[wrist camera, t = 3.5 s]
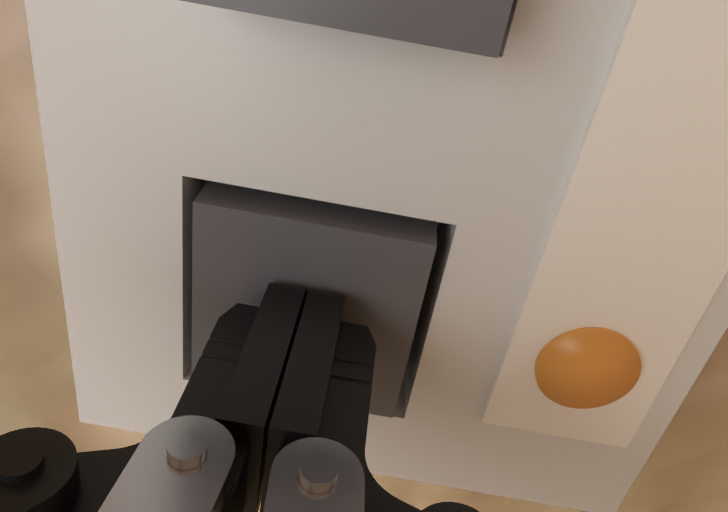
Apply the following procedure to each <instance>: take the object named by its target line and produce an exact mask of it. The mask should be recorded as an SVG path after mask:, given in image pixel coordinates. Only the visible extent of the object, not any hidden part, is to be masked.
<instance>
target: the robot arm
mask: <svg viewBox="0 0 728 512" xmlns="http://www.w3.org/2000/svg"><path fill="white" fill-rule="evenodd" d="M306 293H307V289H304V288H299V287H293V286H287V285H282V284H276V283H271V282H270V283H269V284H268V286H267V289H266V291H265V294H264V296H263V299H262V302H261V304H260V307H257V306H252V305H246V304H241V303H237V304H236V305H234V306H233V307H232V308H230V309H229V310H228V311H227V312H225V313H224V314H223V315H222V316H220V317H219V318H218V321H217V323H216V325H215V327H214V329H213V331H212V333H211V335H210V339H209V340H208V341H207V344H206V346H205V348H204V350H203V352H202V356H200V358H199V360H198V362H197V365H196V367H195V369H194V371H193V373H192V375H191V377H190V379H189V381H188V383H187V385H186V388H185V390H184V392H183V394H182V396H181V398H180V400H179V402H178V404H177V406H176V408H175V411H174V413H173V415H172V416H171V418H170V419H169V420H166V421H164V422H162V423H160V424H158V425H157V426H155V427H154V428H153V429H151V430H150V431H149V432H148V433H147V434H146V435H145V437H144V438H143V439H142V441H141V442H140V443H137V444H135V445H132V446H128V447H124V448H118V449H110V450H100V451H90V452H79V453H77V451H76V448H75V446H74V444H73V442H72V441H71V440H70V439H69V438H68V437H67V436H66V435H64V434H63V433H61V432H58V431H56V430H53V429H48V428H40V427H35V428H24V429H18V430H15V431H11V432H8V433H6V434H3V435H1V436H0V512H258V510H259V506H260V502H261V507H260V512H479V511H478V510H476V509H474V508H472V507H469V506H467V505H464V504H460V503H454V502H441V503H436V504H433V505H430V506H428V507H427V508H425V509H423V510H422V511H421V510H419V509H417V508H415V507H413V506H411V505H409V504H407V503H405V502H403V501H401V500H399V499H397V498H396V497H394V496H392V495H391V494H389V493H388V492H387V491H385V490H384V489H383V488H382V487H381V486H380V485H379V484H378V483H377V482H376V480H375V479H374V478H373V476H372V474H371V473H370V471H369V469H368V466H367V463H366V458H365V445H366V436H367V427H368V418H369V409H370V400H371V391H372V381H373V372H374V363H375V354H376V344H375V341H374V339H373V337H372V335H371V332H370V330H369V328H368V326H364V325H358V324H353V323H347V322H342V321H341V320H342V314H343V308H344V303H345V296H344V295H338V294H333V293H327V292H322V291H316V290H310V289H309V291H308V294H307V298H306Z"/></svg>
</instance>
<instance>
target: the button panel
mask: <svg viewBox="0 0 728 512" xmlns="http://www.w3.org/2000/svg"><path fill="white" fill-rule="evenodd" d="M24 1H25V9H26V16H27V24H28V32H29V39H30V47H31V54H32V62H33V69H34V77H35V85H36V92H37V100H38V107H39V115H40V123H41V130H42V138H43V145H44V153H45V161H46V168H47V176H48V183H49V191H50V198H51V206H52V214H53V221H54V229H55V236H56V244H57V252H58V259H59V267H60V274H61V282H62V290H63V297H64V305H65V312H66V320H67V327H68V335H69V343H70V350H71V358H72V365H73V373H74V381H75V388H76V396H77V403H78V411H79V419H80V422H84V423H89V424H95V425H101V426H106V427H112V428H118V429H123V430H129V431H135V432H140V433H146V434H147V433H148V432H149V431H150V430H151V429H153V428H154V427H155V426H157V425H158V424H160V423H162V422H164V421H166V420H169V419H170V418H171V416H172V415H173V413H174V411H175V408H176V406H177V404H178V402H179V400H180V398H181V396H182V394H183V392H184V390H185V388H186V385H187V383H188V381H189V379H190V377H191V364H192V216H193V201H194V199H195V198H196V196H197V195H198V194H199V192H200V191H201V190H202V188H203V187H204V185H205V184H206V183H207V181H214V182H219V183H225V184H231V185H236V186H242V187H247V188H253V189H258V190H264V191H269V192H275V193H281V194H286V195H292V196H297V197H303V198H308V199H314V200H319V201H325V202H330V203H336V204H342V205H347V206H353V207H358V208H364V209H369V210H375V211H380V212H386V213H392V214H397V215H403V216H408V217H414V218H419V219H425V220H430V221H436V227H437V248H436V252H435V256H434V259H433V263H432V267H431V271H430V275H429V279H428V283H427V287H426V291H425V294H424V298H423V302H422V306H421V310H420V314H419V318H418V322H417V326H416V330H415V333H414V337H413V341H412V345H411V349H410V353H409V357H408V361H407V365H406V368H405V372H404V376H403V380H402V384H401V388H400V392H399V396H398V400H397V403H396V407H395V411H394V415H393V418H390V417H384V416H379V415H373V414H369V418H368V427H367V436H366V445H365V458H366V463H367V466H368V469H369V471H370V473H372V474H378V475H383V476H389V477H395V478H400V479H406V480H412V481H417V482H423V483H429V484H434V485H440V486H445V487H451V488H457V489H462V490H468V491H474V492H479V493H485V494H491V495H496V496H502V497H508V498H513V499H519V500H525V501H530V502H536V503H542V504H547V505H553V506H559V507H564V508H570V509H575V510H581V511H587V512H616V511H617V510H618V508H619V506H620V505H621V503H622V501H623V500H624V498H625V496H626V495H627V493H628V492H629V490H630V488H631V487H632V485H633V483H634V482H635V480H636V478H637V477H638V475H639V473H640V472H641V470H642V468H643V467H644V465H645V463H646V462H647V460H648V458H649V457H650V455H651V453H652V452H653V450H654V449H655V447H656V445H657V444H658V442H659V440H660V439H661V437H662V435H663V434H664V432H665V430H666V429H667V427H668V425H669V424H670V422H671V420H672V419H673V417H674V415H675V414H676V412H677V410H678V409H679V407H680V405H681V404H682V402H683V401H684V399H685V397H686V396H687V394H688V392H689V391H690V389H691V387H692V386H693V384H694V382H695V381H696V379H697V377H698V376H699V374H700V372H701V371H702V369H703V367H704V366H705V364H706V362H707V361H708V359H709V357H710V356H711V354H712V353H713V351H714V349H715V348H716V346H717V344H718V343H719V341H720V339H721V338H722V336H723V334H724V333H725V331H726V329H727V328H728V0H514V1H513V4H512V8H511V12H510V15H509V19H508V23H507V27H506V30H505V34H504V38H503V42H502V45H501V49H500V53H499V57H498V58H493V57H487V56H482V55H476V54H471V53H466V52H460V51H455V50H449V49H444V48H438V47H433V46H427V45H422V44H416V43H411V42H405V41H400V40H394V39H389V38H383V37H378V36H372V35H367V34H361V33H356V32H350V31H345V30H339V29H334V28H328V27H323V26H317V25H312V24H306V23H301V22H295V21H290V20H284V19H279V18H273V17H268V16H262V15H257V14H251V13H246V12H240V11H235V10H229V9H224V8H218V7H213V6H208V5H202V4H197V3H191V2H186V1H180V0H24Z"/></svg>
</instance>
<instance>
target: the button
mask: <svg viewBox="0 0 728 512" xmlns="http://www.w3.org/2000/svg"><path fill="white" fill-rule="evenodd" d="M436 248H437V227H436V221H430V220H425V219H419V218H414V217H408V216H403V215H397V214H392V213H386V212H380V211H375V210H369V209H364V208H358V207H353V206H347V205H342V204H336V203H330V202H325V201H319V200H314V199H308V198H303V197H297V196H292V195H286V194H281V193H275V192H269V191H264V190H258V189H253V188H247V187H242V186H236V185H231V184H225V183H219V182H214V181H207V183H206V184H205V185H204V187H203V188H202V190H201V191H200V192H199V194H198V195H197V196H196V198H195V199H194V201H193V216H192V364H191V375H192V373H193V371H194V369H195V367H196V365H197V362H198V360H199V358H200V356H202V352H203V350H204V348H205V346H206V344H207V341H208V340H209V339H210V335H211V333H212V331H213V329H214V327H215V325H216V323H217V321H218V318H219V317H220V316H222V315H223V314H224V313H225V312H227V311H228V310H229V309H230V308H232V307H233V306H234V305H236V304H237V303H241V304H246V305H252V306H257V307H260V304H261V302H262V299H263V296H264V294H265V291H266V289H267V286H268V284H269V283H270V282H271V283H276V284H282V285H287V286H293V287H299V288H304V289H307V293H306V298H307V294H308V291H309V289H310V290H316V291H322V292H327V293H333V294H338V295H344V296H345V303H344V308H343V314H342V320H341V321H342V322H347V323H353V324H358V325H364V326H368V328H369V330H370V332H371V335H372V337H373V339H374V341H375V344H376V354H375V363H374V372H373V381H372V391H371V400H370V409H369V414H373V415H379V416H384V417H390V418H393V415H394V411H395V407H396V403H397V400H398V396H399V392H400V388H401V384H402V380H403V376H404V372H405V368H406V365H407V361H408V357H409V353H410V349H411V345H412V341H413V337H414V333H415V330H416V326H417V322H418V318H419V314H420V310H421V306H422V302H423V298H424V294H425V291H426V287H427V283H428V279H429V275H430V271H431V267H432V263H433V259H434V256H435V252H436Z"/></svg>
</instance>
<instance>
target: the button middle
mask: <svg viewBox="0 0 728 512" xmlns="http://www.w3.org/2000/svg"><path fill="white" fill-rule="evenodd" d="M180 1H186V2H191V3H197V4H202V5H208V6H213V7H218V8H224V9H229V10H235V11H240V12H246V13H251V14H257V15H262V16H268V17H273V18H279V19H284V20H290V21H295V22H301V23H306V24H312V25H317V26H323V27H328V28H334V29H339V30H345V31H350V32H356V33H361V34H367V35H372V36H378V37H383V38H389V39H394V40H400V41H405V42H411V43H416V44H422V45H427V46H433V47H438V48H444V49H449V50H455V51H460V52H466V53H471V54H476V55H482V56H487V57H493V58H498V57H499V53H500V49H501V45H502V42H503V38H504V34H505V30H506V27H507V23H508V19H509V15H510V12H511V8H512V4H513V1H514V0H180Z"/></svg>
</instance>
